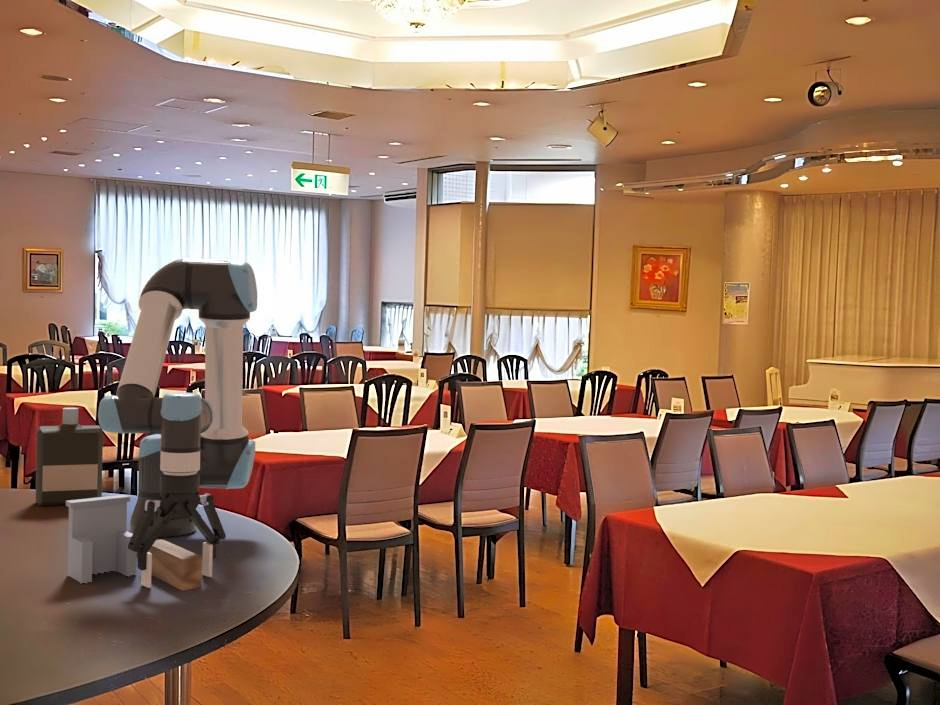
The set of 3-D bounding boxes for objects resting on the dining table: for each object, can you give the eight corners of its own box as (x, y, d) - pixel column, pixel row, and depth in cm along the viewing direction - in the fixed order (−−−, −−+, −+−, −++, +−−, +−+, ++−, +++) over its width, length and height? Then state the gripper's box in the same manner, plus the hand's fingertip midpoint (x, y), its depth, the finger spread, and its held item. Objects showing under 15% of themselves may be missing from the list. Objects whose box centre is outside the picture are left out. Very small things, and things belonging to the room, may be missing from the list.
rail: (161, 567, 209) (162, 539, 209) (201, 587, 197) (201, 556, 196) (143, 570, 206) (143, 541, 206) (181, 590, 194) (182, 559, 194)
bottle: (35, 501, 268) (36, 406, 267) (99, 498, 275) (101, 406, 274) (36, 507, 261) (38, 410, 260) (102, 504, 268) (104, 409, 266)
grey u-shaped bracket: (122, 566, 209) (124, 494, 208) (138, 574, 203) (140, 500, 202) (64, 575, 200) (65, 500, 200) (78, 584, 195) (80, 507, 194)
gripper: (226, 464, 210) (223, 567, 211) (111, 474, 193) (108, 586, 194) (244, 469, 204) (241, 575, 205) (128, 480, 188) (125, 595, 189)
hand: (177, 580), depth 200 cm, fingers open, 12 cm apart
